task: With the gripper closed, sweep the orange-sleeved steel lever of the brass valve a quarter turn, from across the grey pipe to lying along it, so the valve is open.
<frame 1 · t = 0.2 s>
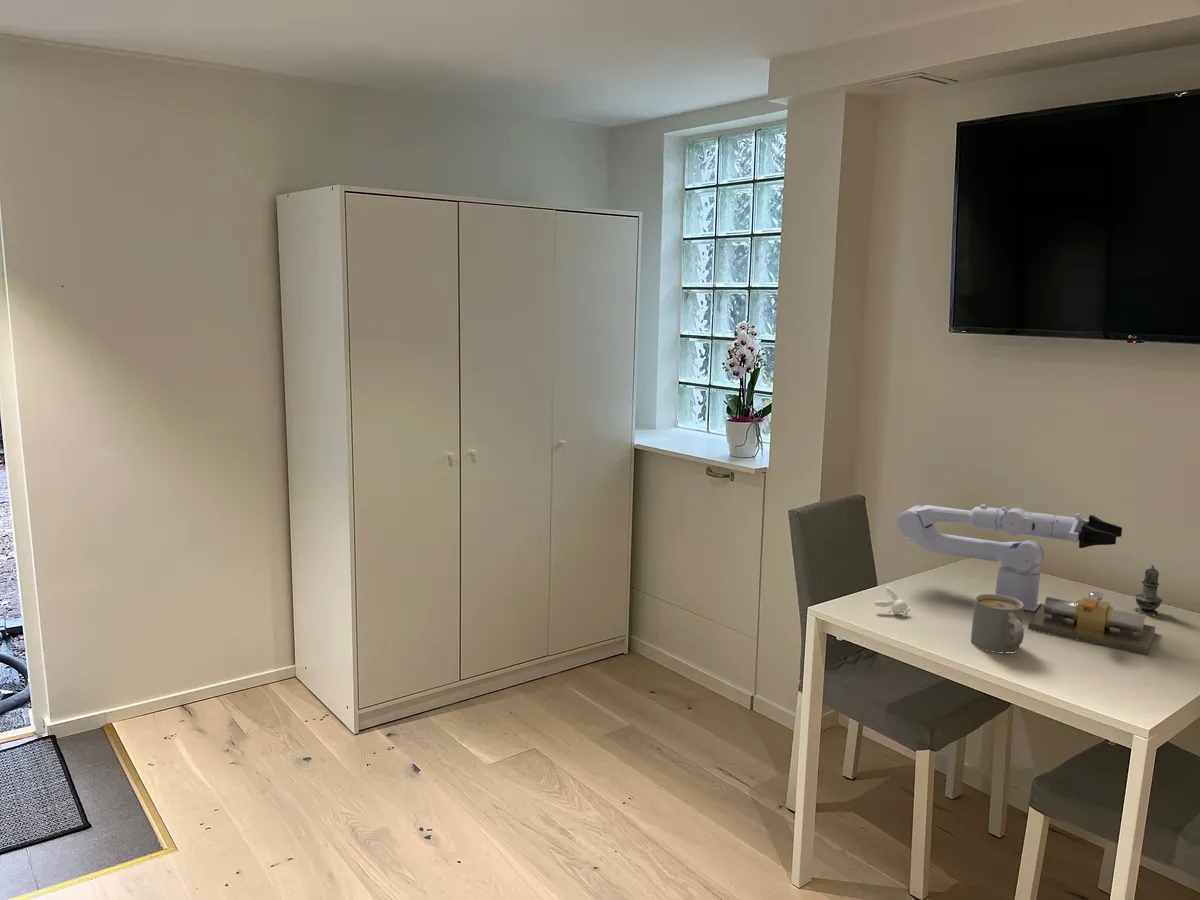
hand: (1118, 535, 214), 21 cm above the table, tool horizontal, fingers open, 7 cm apart
valve manifold: (1091, 631, 213), on the table
rabbit figurine: (890, 613, 223), on the table
salt shaker: (1146, 612, 226), on the table
valve lever: (1092, 601, 208), point 9 cm above the table, hinge at 0.0°
coffee mug: (997, 648, 202), on the table
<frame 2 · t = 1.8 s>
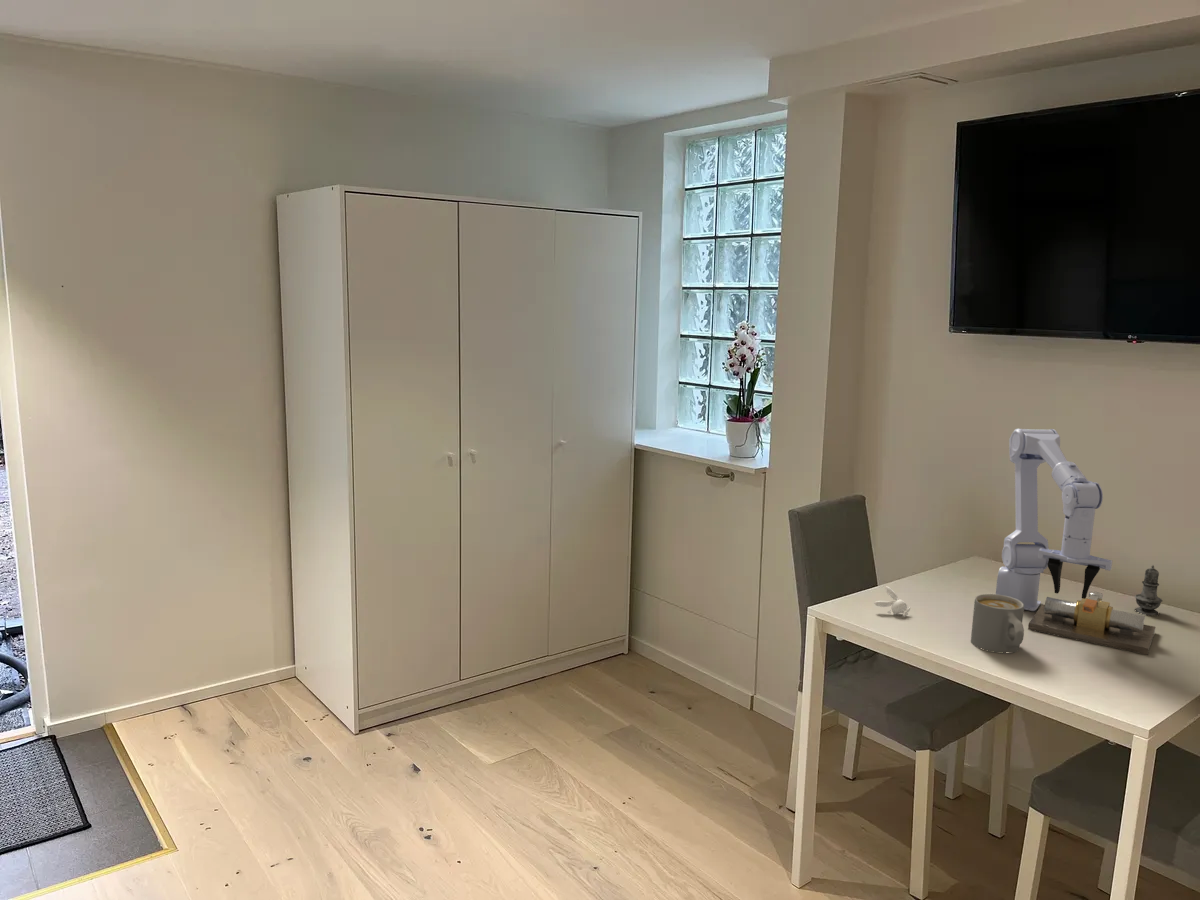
hand: (1070, 594, 206), 10 cm above the table, tool pointing down, fingers open, 5 cm apart
nothing on the table moved.
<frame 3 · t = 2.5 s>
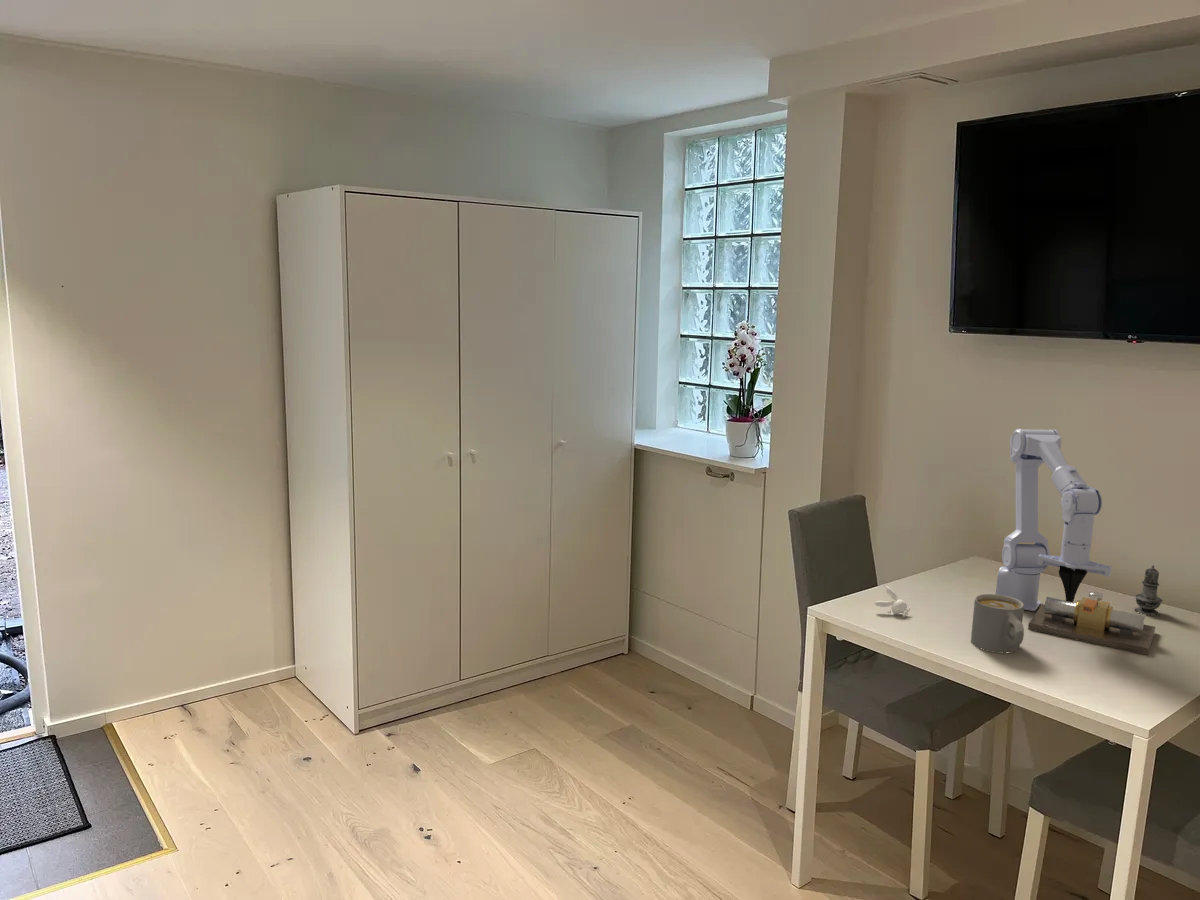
hand: (1069, 600, 206), 9 cm above the table, tool pointing down, fingers closed
nothing on the table moved.
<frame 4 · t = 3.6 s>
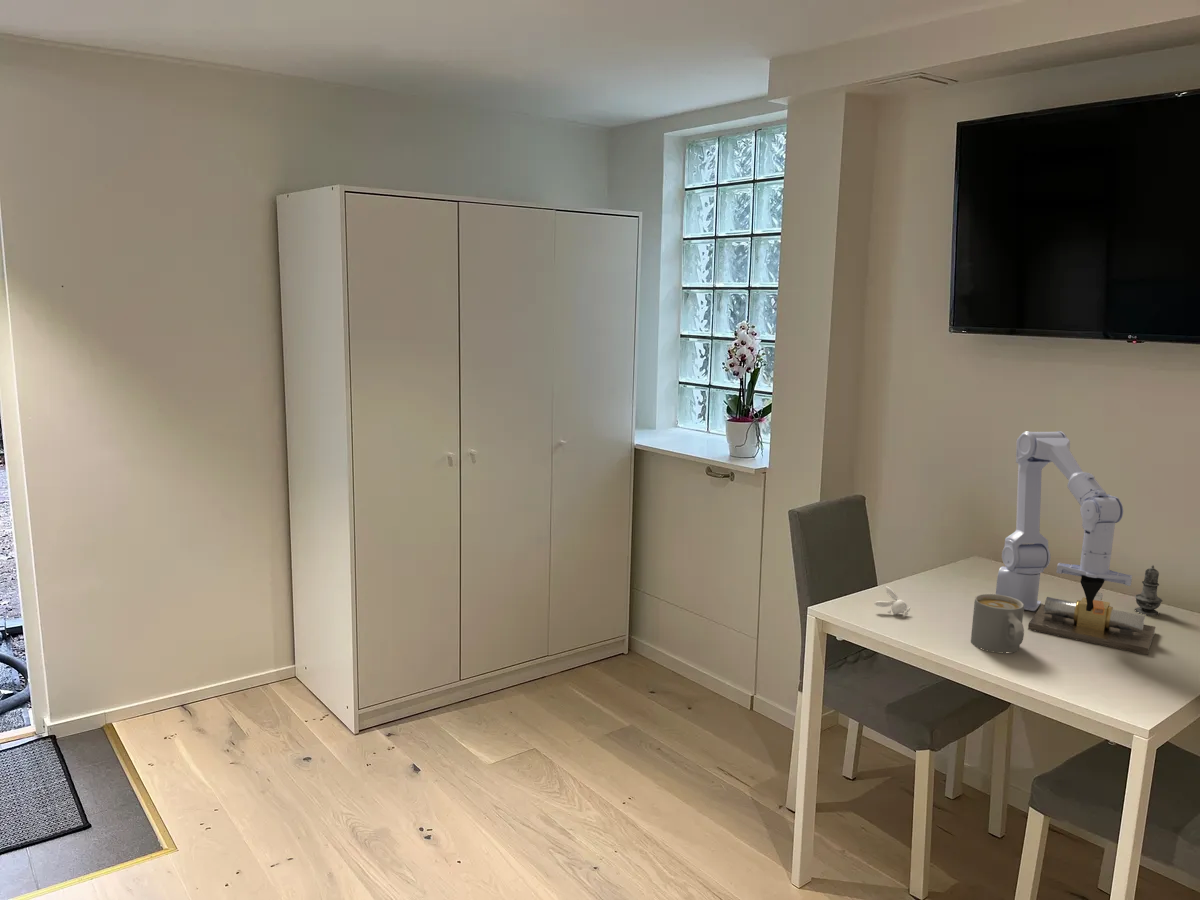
hand: (1089, 609, 204), 8 cm above the table, tool pointing down, fingers closed, pressing on valve lever
valve lever: (1096, 602, 207), point 9 cm above the table, hinge at 11.0°, touching gripper
everything else where it was.
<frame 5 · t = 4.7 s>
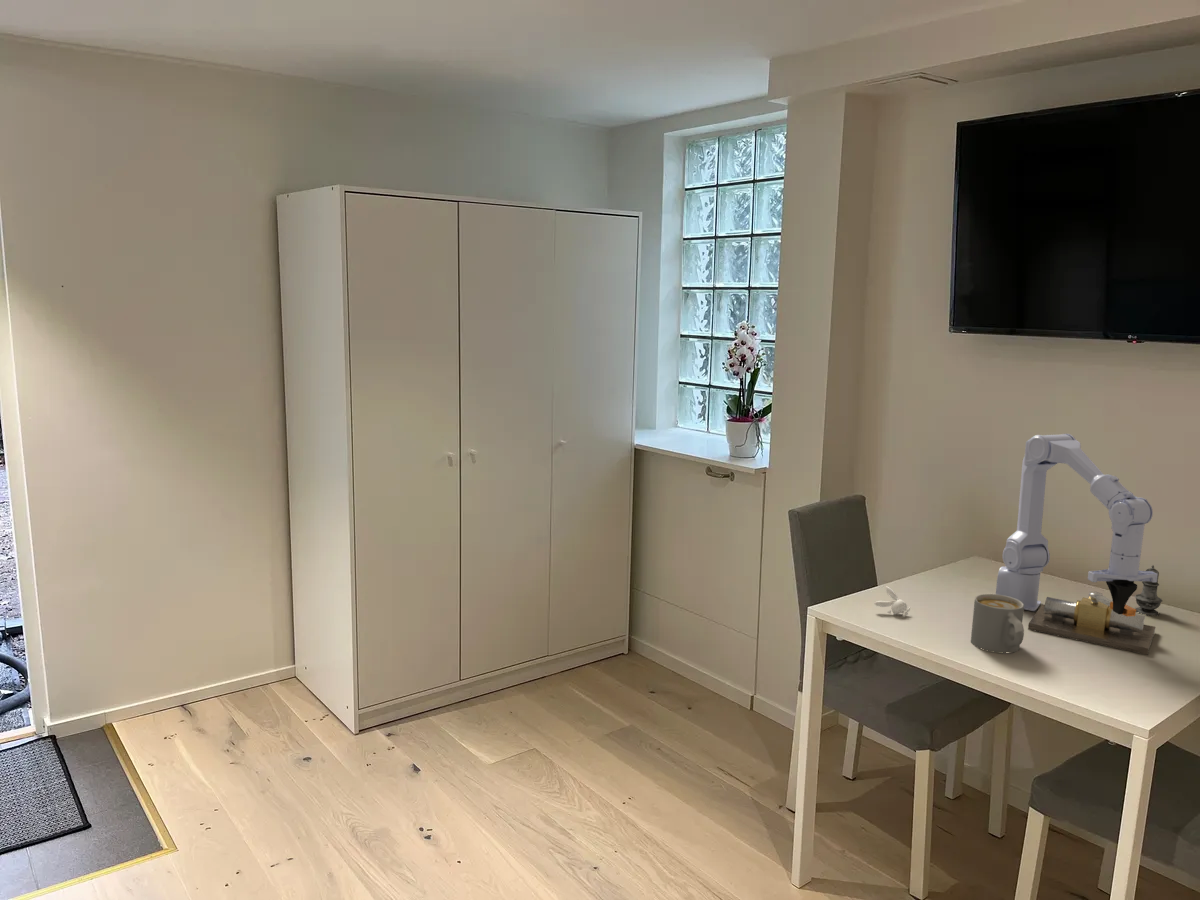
hand: (1118, 612, 203), 8 cm above the table, tool pointing down, fingers closed, pressing on valve lever
valve lever: (1110, 603, 207), point 8 cm above the table, hinge at 46.8°, touching gripper
everything else where it was.
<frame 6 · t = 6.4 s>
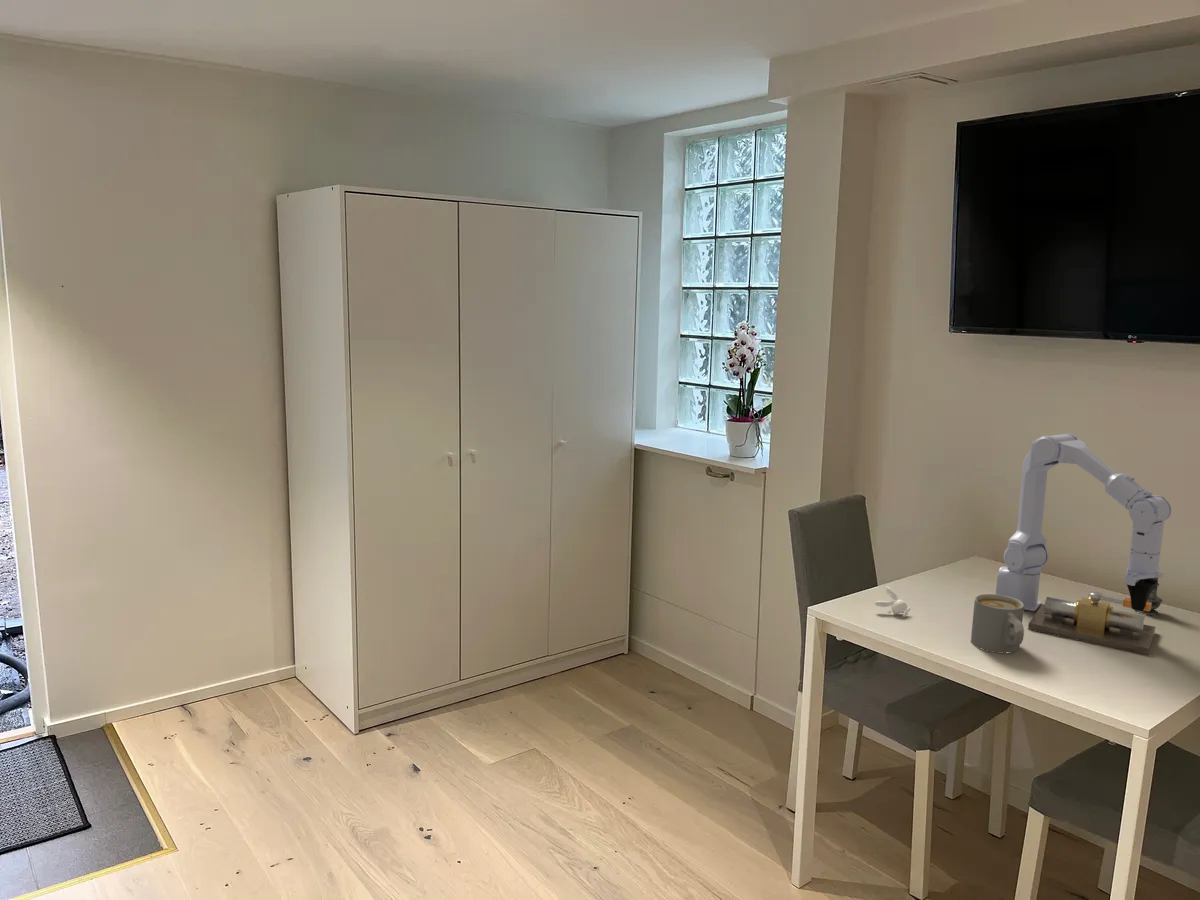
hand: (1137, 609, 205), 8 cm above the table, tool pointing down, fingers closed
valve lever: (1119, 600, 209), point 9 cm above the table, hinge at 86.7°, touching gripper
everything else where it was.
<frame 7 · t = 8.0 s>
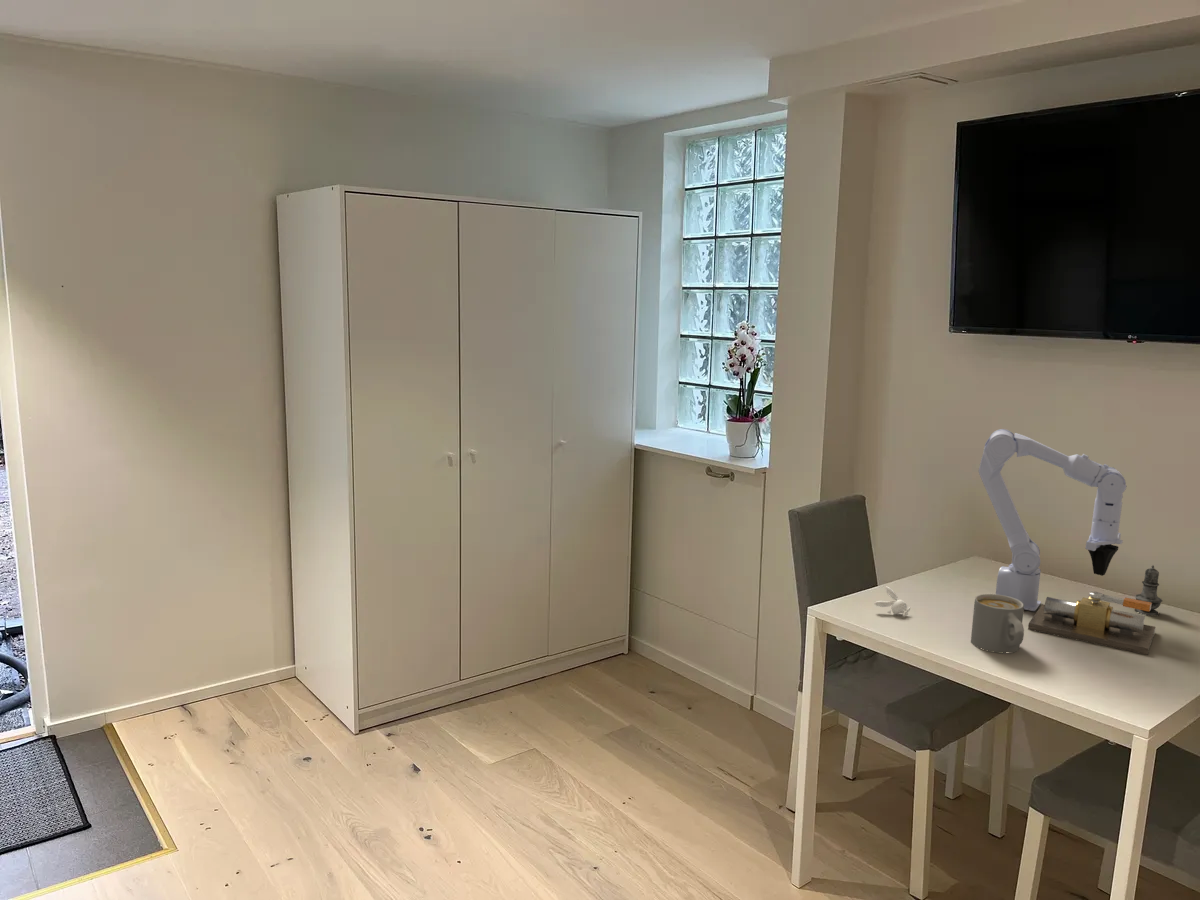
hand: (1099, 574, 222), 10 cm above the table, tool pointing down, fingers closed
valve lever: (1119, 600, 209), point 8 cm above the table, hinge at 87.0°
everything else where it was.
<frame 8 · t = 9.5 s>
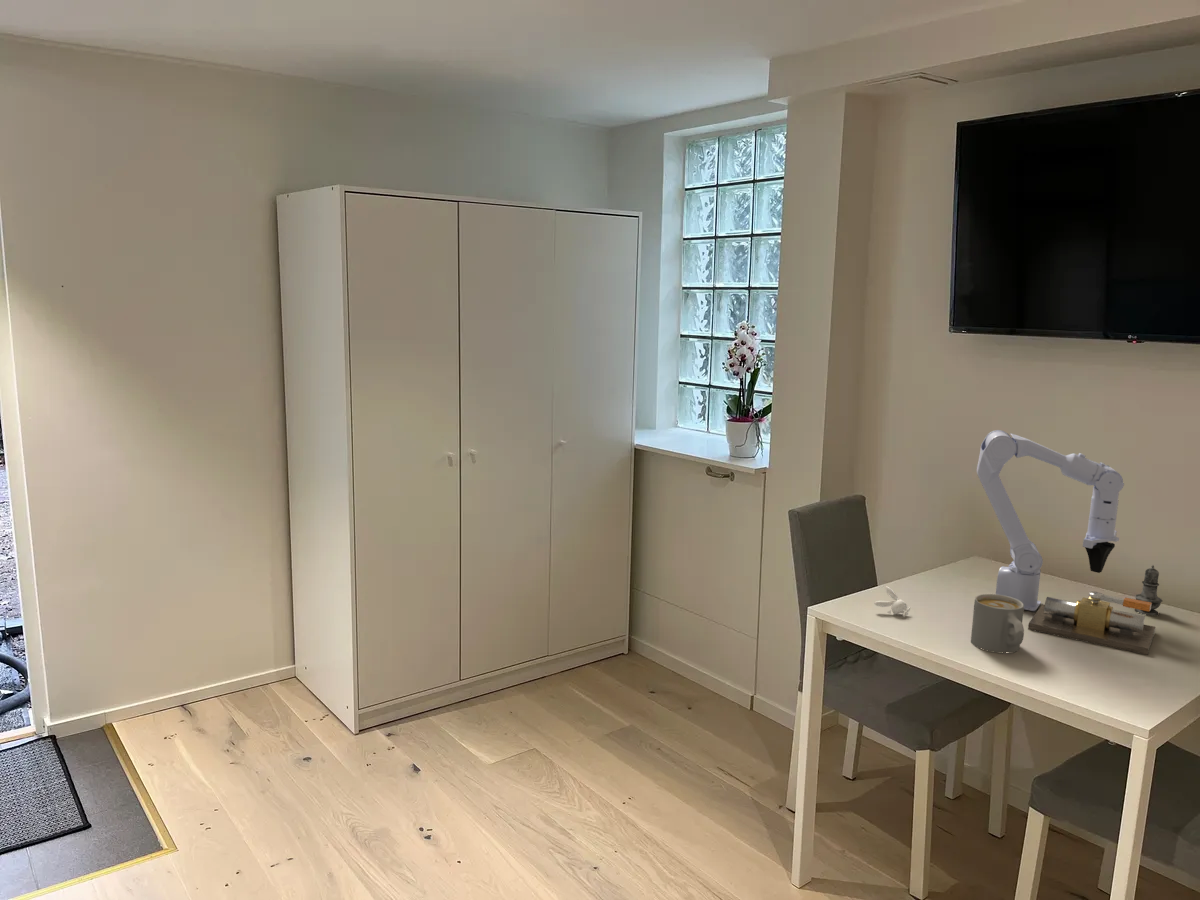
hand: (1096, 571, 223), 10 cm above the table, tool pointing down, fingers closed
nothing on the table moved.
at the end: valve lever at +87° (first picture: +0°); salt shaker moved 0.2 cm from its start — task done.
